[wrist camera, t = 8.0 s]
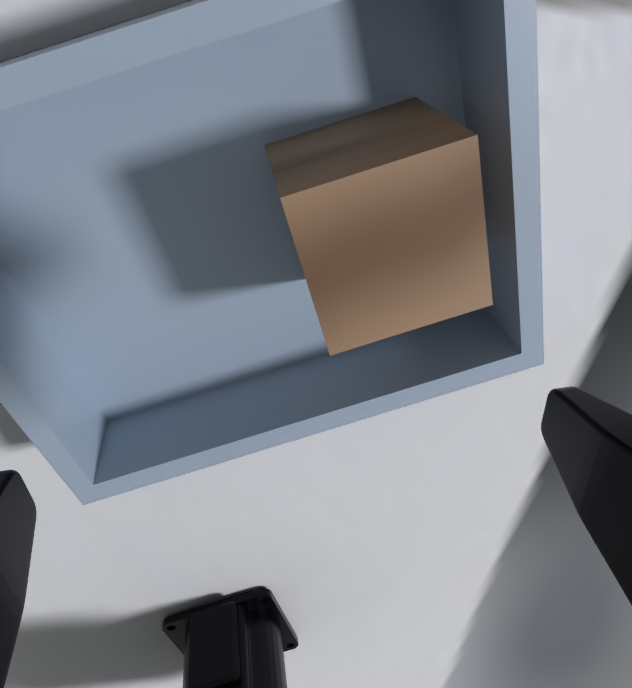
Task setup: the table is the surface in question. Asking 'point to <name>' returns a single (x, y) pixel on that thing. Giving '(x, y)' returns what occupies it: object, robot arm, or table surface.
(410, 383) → the tote
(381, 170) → the walnut cube
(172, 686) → the table surface
